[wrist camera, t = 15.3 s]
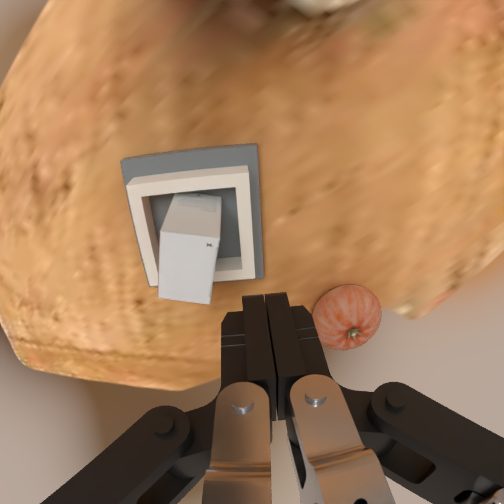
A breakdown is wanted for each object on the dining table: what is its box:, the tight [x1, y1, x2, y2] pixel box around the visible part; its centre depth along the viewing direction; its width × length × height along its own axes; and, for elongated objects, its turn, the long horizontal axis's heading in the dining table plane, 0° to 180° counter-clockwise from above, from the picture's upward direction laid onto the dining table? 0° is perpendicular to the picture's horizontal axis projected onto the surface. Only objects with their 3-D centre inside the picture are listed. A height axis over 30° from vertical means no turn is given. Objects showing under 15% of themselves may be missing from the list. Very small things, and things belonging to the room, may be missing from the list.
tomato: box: [312, 285, 381, 350], centre depth 46 cm, size 11×11×8 cm
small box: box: [158, 192, 222, 304], centre depth 35 cm, size 8×6×10 cm
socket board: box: [120, 143, 264, 287], centre depth 39 cm, size 18×16×4 cm
